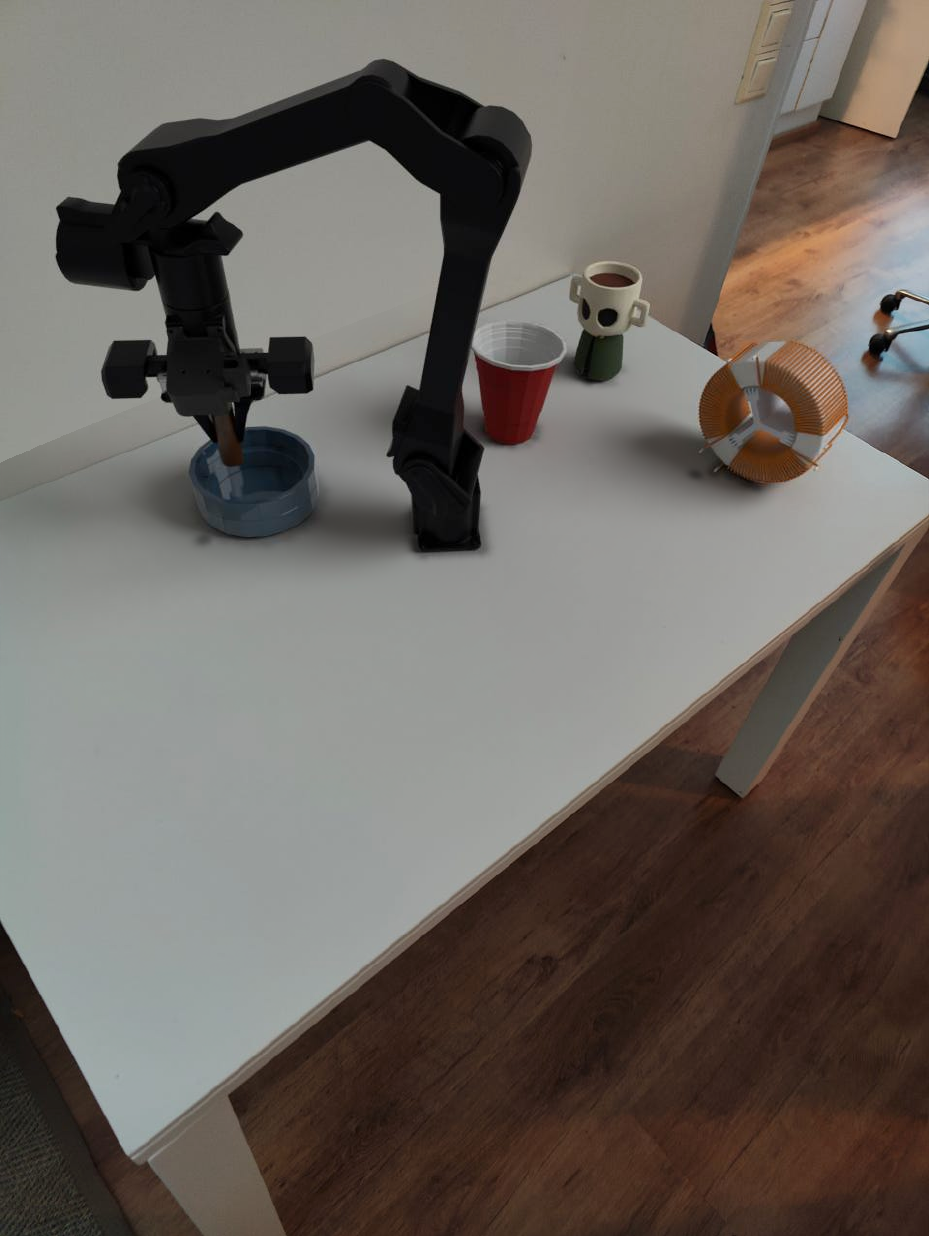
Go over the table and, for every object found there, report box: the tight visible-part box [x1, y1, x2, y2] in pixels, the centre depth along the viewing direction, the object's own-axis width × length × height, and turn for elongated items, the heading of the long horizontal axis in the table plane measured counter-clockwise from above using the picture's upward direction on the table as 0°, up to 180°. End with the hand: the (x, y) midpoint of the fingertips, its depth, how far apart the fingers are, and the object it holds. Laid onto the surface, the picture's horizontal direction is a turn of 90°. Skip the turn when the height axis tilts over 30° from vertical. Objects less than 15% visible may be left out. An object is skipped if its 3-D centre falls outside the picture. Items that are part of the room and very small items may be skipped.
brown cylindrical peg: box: [211, 402, 244, 467], centre depth 81 cm, size 2×2×9 cm
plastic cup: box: [471, 319, 568, 446], centre depth 94 cm, size 11×11×12 cm
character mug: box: [568, 260, 651, 381], centre depth 103 cm, size 11×7×13 cm, turn 53°
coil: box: [698, 339, 850, 485], centre depth 90 cm, size 7×15×15 cm, turn 49°
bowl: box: [188, 425, 320, 538], centre depth 87 cm, size 13×13×5 cm
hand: (228, 440), depth 83 cm, fingers closed on brown cylindrical peg, 2 cm apart
